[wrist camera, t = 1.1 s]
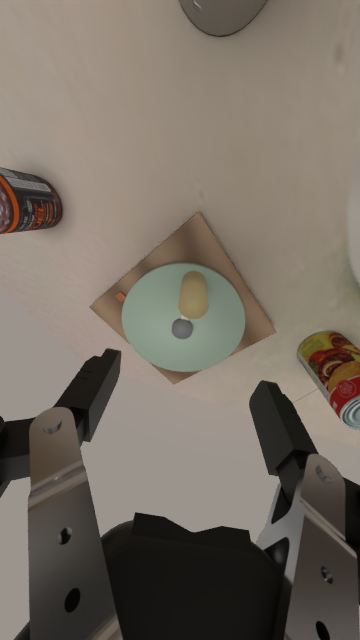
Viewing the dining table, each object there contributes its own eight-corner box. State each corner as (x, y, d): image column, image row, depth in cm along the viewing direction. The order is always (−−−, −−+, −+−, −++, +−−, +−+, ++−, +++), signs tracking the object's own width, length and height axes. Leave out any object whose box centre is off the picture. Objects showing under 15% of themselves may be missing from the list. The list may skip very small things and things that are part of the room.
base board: (198, 211, 24) (198, 211, 22) (272, 325, 32) (277, 333, 30) (94, 301, 32) (88, 308, 30) (174, 376, 39) (173, 385, 37)
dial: (221, 372, 35) (228, 418, 27) (122, 352, 34) (101, 394, 26) (262, 277, 26) (291, 307, 18) (129, 248, 25) (101, 265, 17)
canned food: (355, 348, 33) (428, 411, 23) (313, 372, 36) (360, 437, 26) (329, 322, 31) (398, 379, 21) (287, 350, 34) (328, 412, 24)
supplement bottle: (57, 237, 27) (-20, 253, 17) (14, 211, 26) (-97, 213, 16) (69, 194, 24) (-15, 184, 15) (20, 162, 23) (-107, 129, 13)
